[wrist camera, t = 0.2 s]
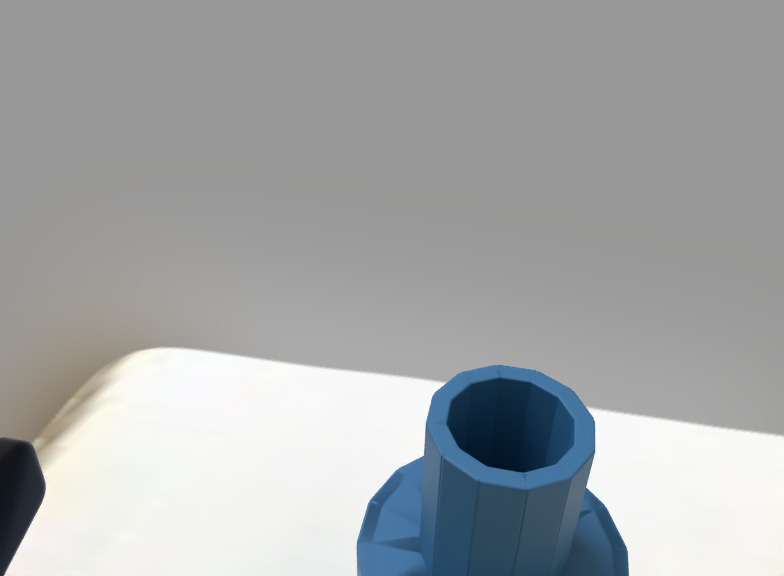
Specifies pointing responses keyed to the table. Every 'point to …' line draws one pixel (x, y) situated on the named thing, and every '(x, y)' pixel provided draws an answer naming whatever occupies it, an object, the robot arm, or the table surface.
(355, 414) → the table surface
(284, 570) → the table surface
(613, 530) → the bottle
